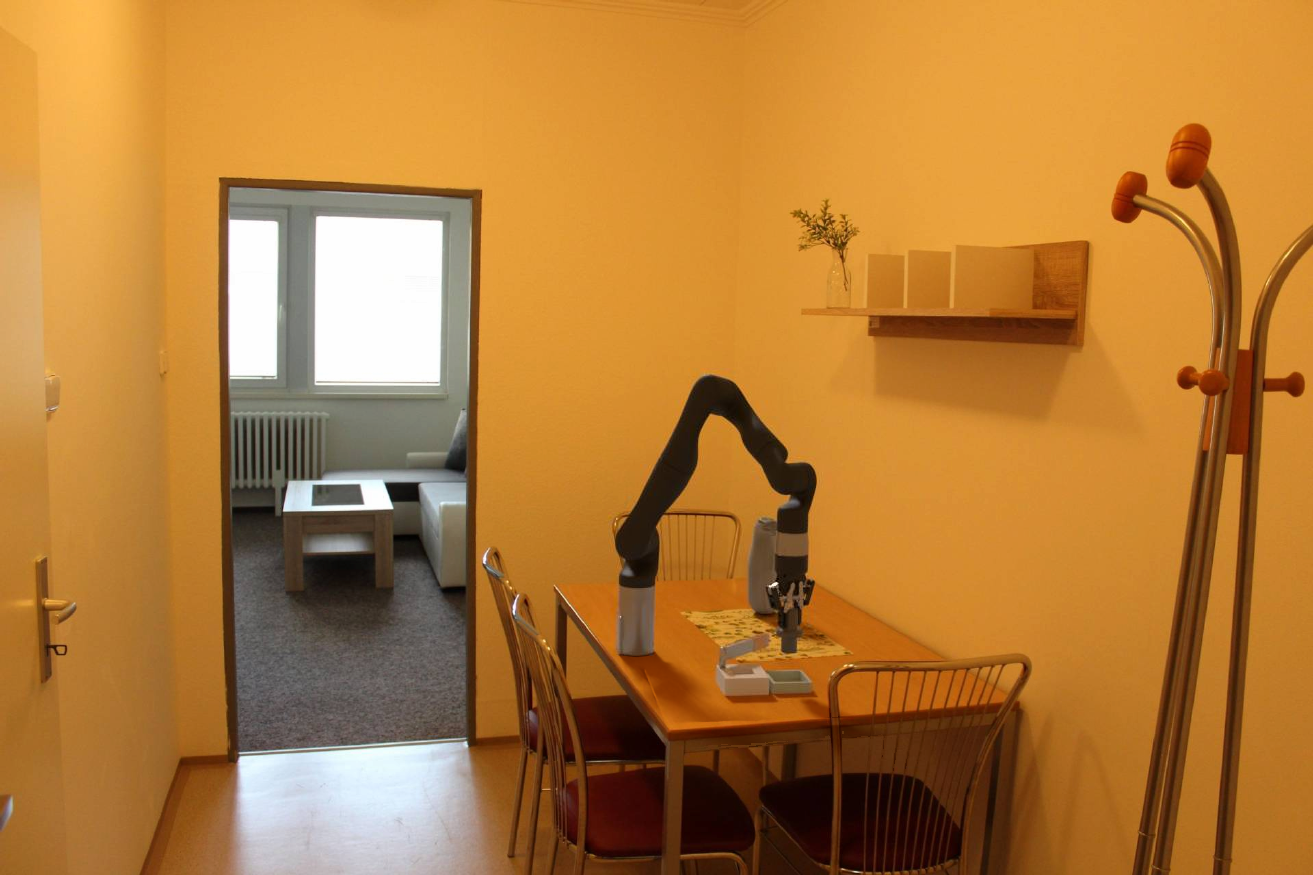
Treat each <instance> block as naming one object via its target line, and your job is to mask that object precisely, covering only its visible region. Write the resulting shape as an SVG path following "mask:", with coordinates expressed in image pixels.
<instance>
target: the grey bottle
mask: <svg viewBox="0 0 1313 875" xmlns="http://www.w3.org/2000/svg"><path fill="white" fill-rule="evenodd" d="M776 531H777V520H775V519H774V518H771V517H760V518H758V519H757V520H756V521H755V523H754V525H753V532H752V533H753V534H752V540H751V544H750V548H749V552H748V556H747V588H746V589H747V595H746V596H747V601H748V604H749V606H750V608H751V609H752V610H753V611H754V612H756V613H758V614H761V615H770V614H773V613H775V612H777V610H774V609H771V607H770V603H769V599H768V596H767V592H766V586H767V585H769V586H771V585H772V584H774V583H775V580H776V577H777V574H776V572H775V570H774V563H775V538H776Z"/></svg>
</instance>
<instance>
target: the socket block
mask: <svg viewBox="0 0 1313 875" xmlns="http://www.w3.org/2000/svg"><path fill="white" fill-rule="evenodd" d="M765 671H766V670H764V669H763V667H762V666H761V664H759V663H742V664H741V663H738V664H736V663H735V664H733V663H732V664H726V668H719V664H716V665H715V683H716V684H717V686H718V688H719V689H720V691H721V692H722V694H723V695H724V697H732V696H733V697H734V696H735V697H736V696H737V697H738V696H739V697H740V696H770V689H769V676H768V675H767V674H766V672H765Z"/></svg>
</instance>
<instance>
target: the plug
mask: <svg viewBox="0 0 1313 875" xmlns="http://www.w3.org/2000/svg"><path fill="white" fill-rule="evenodd" d="M787 613H788V627H787V628H786V629H783V628H780V627H779V626H778V627H776V629H775V635H776V636H777V637H780V638H781V640H780V652H781V653H783V654H787V655H788V654H789V655H792V654H797V652H798V639H800V638H802V637H803V636H804V630H803V628H801V627H800V626H798V608H796V607H793V606H790V605H789V606H788V611H787Z"/></svg>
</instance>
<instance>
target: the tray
mask: <svg viewBox="0 0 1313 875" xmlns="http://www.w3.org/2000/svg"><path fill="white" fill-rule="evenodd" d="M764 671H765V672H766V674H767V675H768V676H769V692H771V693H772V694H773V695H774V694H775V695H776V694H777V695H779V694H780V695H781V694H783V695H785V694H811V693H813V680H811V679H810V678H809V677H808V676H807V674H806V673H805V672H804V671H803V669H786V670H785V669H781V670H779V669H776V670H764Z"/></svg>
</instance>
